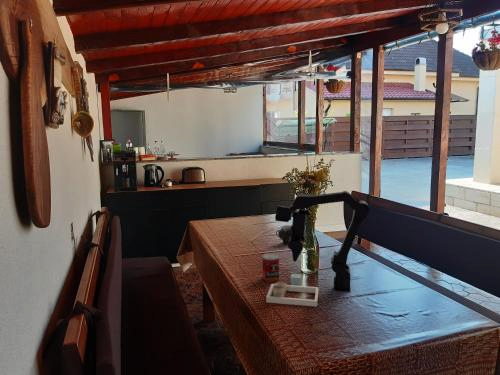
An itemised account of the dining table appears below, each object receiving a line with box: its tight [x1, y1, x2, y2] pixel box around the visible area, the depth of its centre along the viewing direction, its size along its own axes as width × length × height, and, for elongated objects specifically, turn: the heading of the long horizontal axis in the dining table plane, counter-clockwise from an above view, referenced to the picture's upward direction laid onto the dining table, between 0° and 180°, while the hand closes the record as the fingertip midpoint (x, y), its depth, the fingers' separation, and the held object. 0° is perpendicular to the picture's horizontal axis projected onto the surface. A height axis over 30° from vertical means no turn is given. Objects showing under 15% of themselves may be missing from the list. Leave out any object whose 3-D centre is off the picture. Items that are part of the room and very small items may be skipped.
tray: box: [265, 283, 319, 307], centre depth 169 cm, size 20×14×2 cm
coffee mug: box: [275, 224, 292, 246], centre depth 245 cm, size 12×9×10 cm
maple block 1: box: [275, 281, 287, 296], centre depth 173 cm, size 4×4×4 cm
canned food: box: [262, 253, 280, 283], centre depth 188 cm, size 8×8×11 cm
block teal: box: [290, 273, 303, 286], centre depth 182 cm, size 4×4×4 cm
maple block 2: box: [273, 289, 285, 298], centre depth 167 cm, size 4×4×4 cm
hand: (295, 258), depth 180 cm, fingers open, 9 cm apart
